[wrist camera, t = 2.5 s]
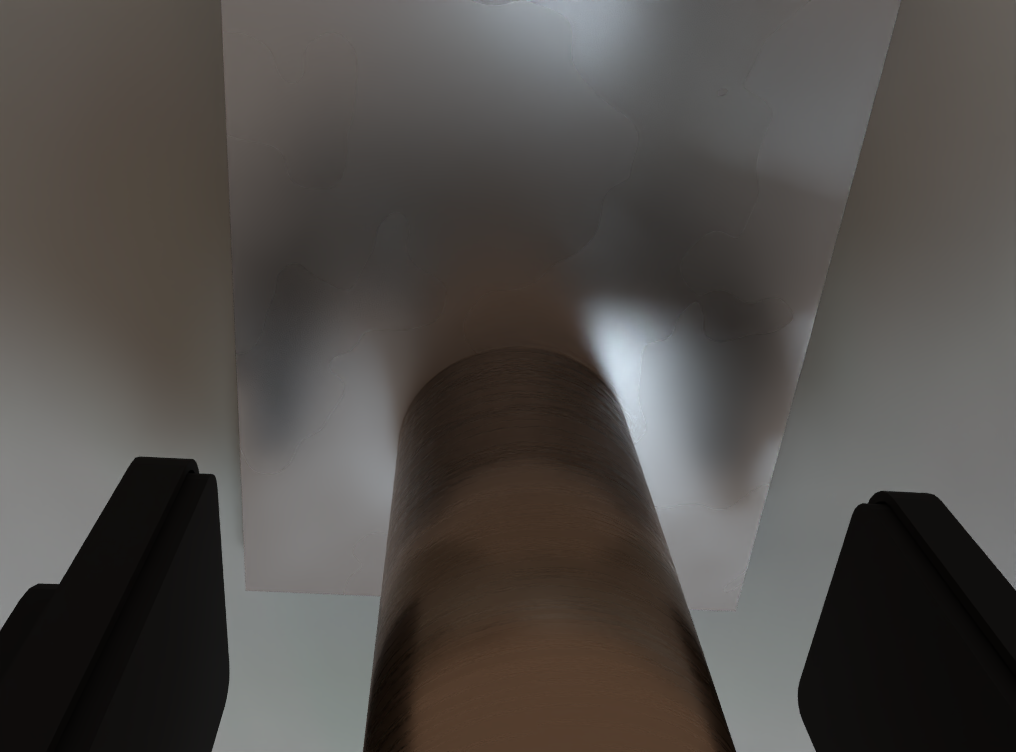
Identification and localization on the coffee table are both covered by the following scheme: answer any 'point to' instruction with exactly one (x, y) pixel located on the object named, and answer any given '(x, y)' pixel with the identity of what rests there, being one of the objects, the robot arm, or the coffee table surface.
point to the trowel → (531, 334)
